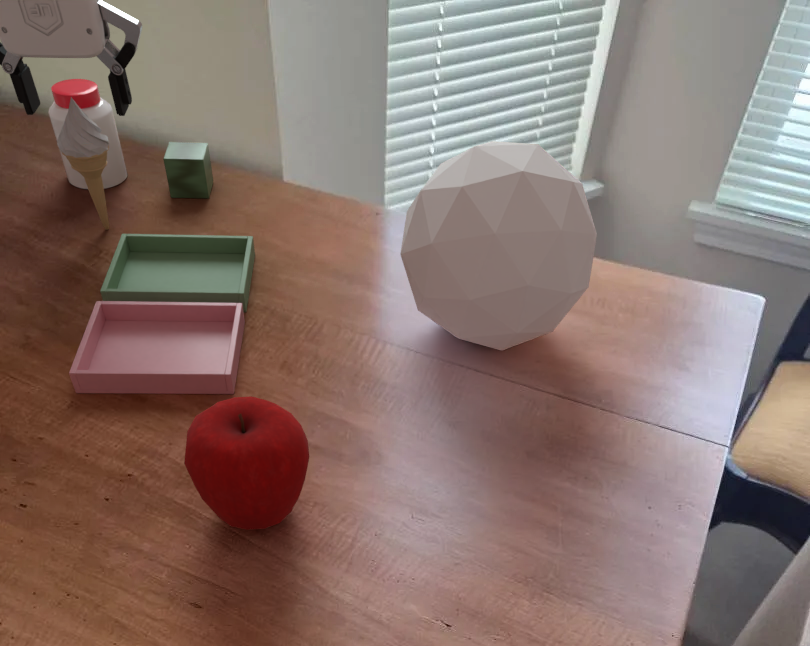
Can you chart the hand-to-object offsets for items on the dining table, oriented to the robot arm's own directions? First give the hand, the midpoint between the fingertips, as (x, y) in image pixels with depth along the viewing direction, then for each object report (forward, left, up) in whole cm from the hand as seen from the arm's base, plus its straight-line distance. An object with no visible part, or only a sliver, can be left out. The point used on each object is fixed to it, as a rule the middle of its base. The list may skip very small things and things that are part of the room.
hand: (78, 110), depth 83 cm
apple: (+22, -47, -14) cm, 54 cm away
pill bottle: (-4, +14, -14) cm, 20 cm away
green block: (+9, +11, -14) cm, 19 cm away
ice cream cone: (0, 0, -14) cm, 14 cm away
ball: (+45, -20, -14) cm, 51 cm away
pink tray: (+11, -26, -14) cm, 31 cm away
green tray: (+11, -12, -14) cm, 21 cm away
